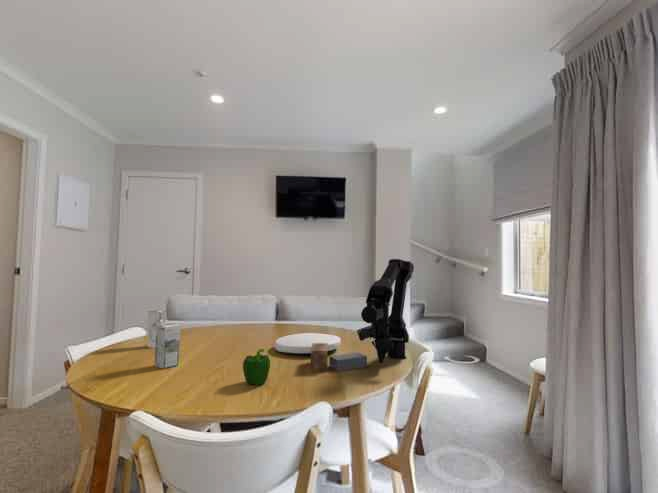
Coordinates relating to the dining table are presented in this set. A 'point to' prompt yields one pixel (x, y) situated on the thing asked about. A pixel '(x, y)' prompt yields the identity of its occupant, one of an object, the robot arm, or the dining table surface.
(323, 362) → the walnut shelf
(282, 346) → the plate
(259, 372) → the bell pepper
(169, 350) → the syrup box
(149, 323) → the beer glass
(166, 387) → the dining table surface
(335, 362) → the slate slab
